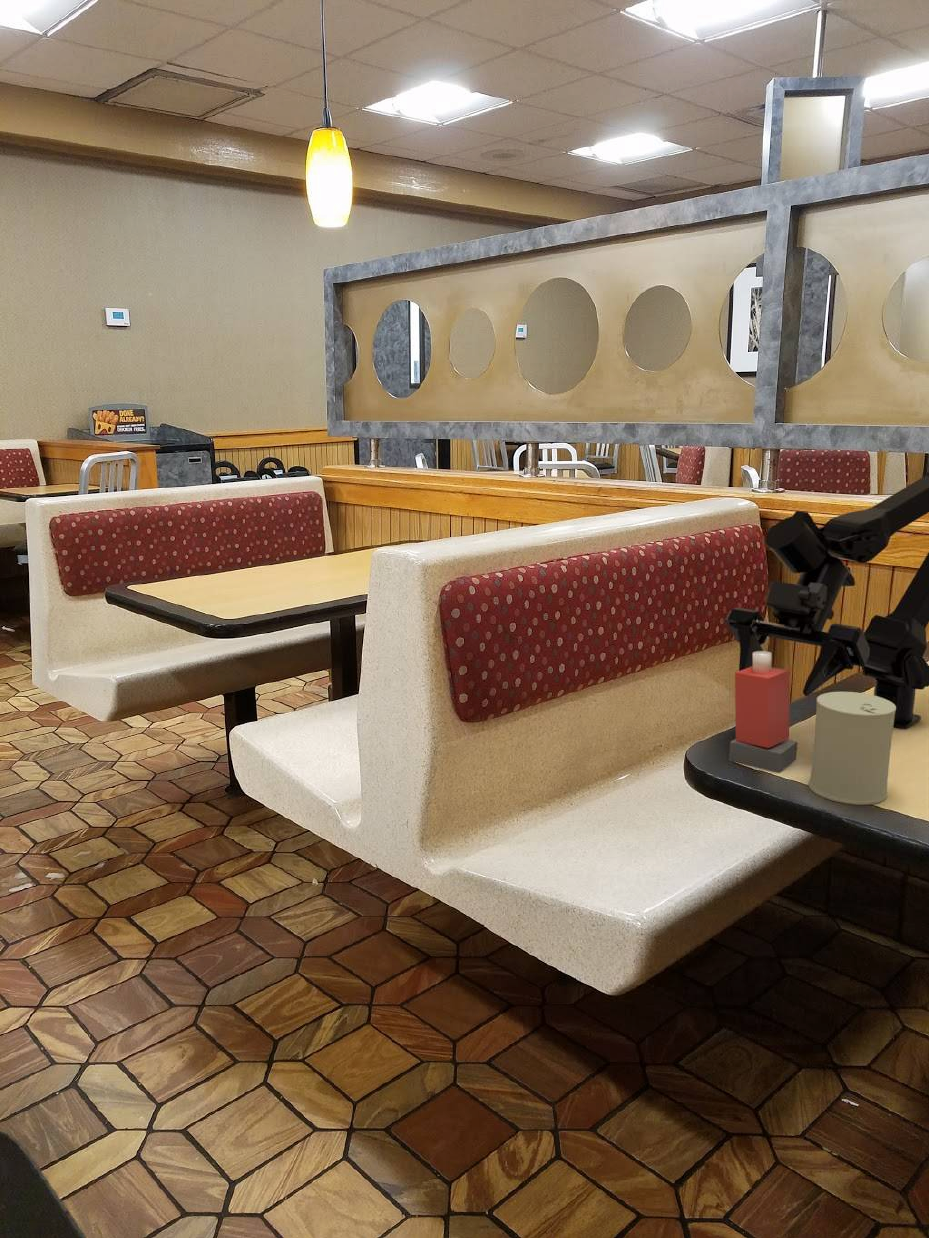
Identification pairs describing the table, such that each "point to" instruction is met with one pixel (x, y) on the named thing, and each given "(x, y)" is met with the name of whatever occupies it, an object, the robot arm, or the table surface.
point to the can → (852, 747)
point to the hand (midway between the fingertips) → (772, 687)
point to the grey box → (764, 755)
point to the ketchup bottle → (762, 702)
